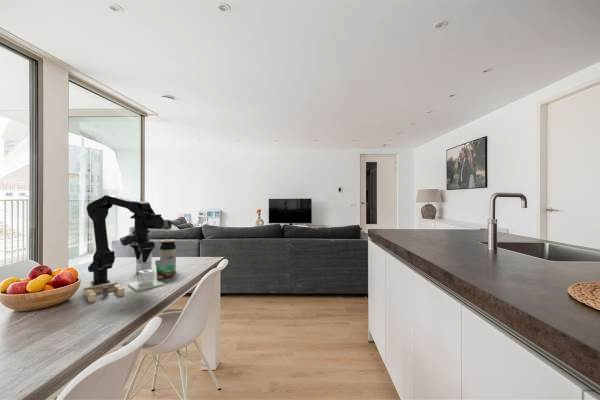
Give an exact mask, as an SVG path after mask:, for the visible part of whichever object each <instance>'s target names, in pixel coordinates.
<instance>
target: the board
mask: <svg viewBox="0 0 600 400" xmlns="http://www.w3.org/2000/svg"><path fill="white" fill-rule="evenodd" d="M127 286H128V287H129V288H131V289H132V290H134V291H135V292H139V291H143V290H149V289H155V288H158V287H164V286H165V283H164V282H162V281H160V280H159V279H157V278H154V284H150V285H145V286H141V285H140V284H138V281H137V282H131V283H127Z"/></svg>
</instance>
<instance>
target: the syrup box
mask: <svg viewBox="0 0 600 400" xmlns="http://www.w3.org/2000/svg"><path fill="white" fill-rule="evenodd" d="M152 253H153V250H152V251H151V253H150V255H149V257H148V259H147V261H146V263H143V261H142V254H141V256H140V258H139V260H137V259H136V258H135V261H136V264H135V265H136V267H135V268H136V269H135V270H136V272H137V273H139V271H143V270H149V269H150V270H152V271H153V269H152V264H153V263H152V262H153V261H152V260H153V259H152V257H153V256H152Z"/></svg>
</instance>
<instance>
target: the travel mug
mask: <svg viewBox="0 0 600 400" xmlns="http://www.w3.org/2000/svg"><path fill="white" fill-rule="evenodd" d="M160 242H161V244H160V246H159V247H160V249H159V253H160V254H159V259H160V260H163V259H168V258H170V256H174V257H175V258H176V259H177V247H176V246H177V245H176V239H172V238H171V239H167V238H166V239H162V240H160ZM176 263H177V261H176V262H175V264H174V273H175V272H176V271H177V270H176V269H177V265H176Z"/></svg>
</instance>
